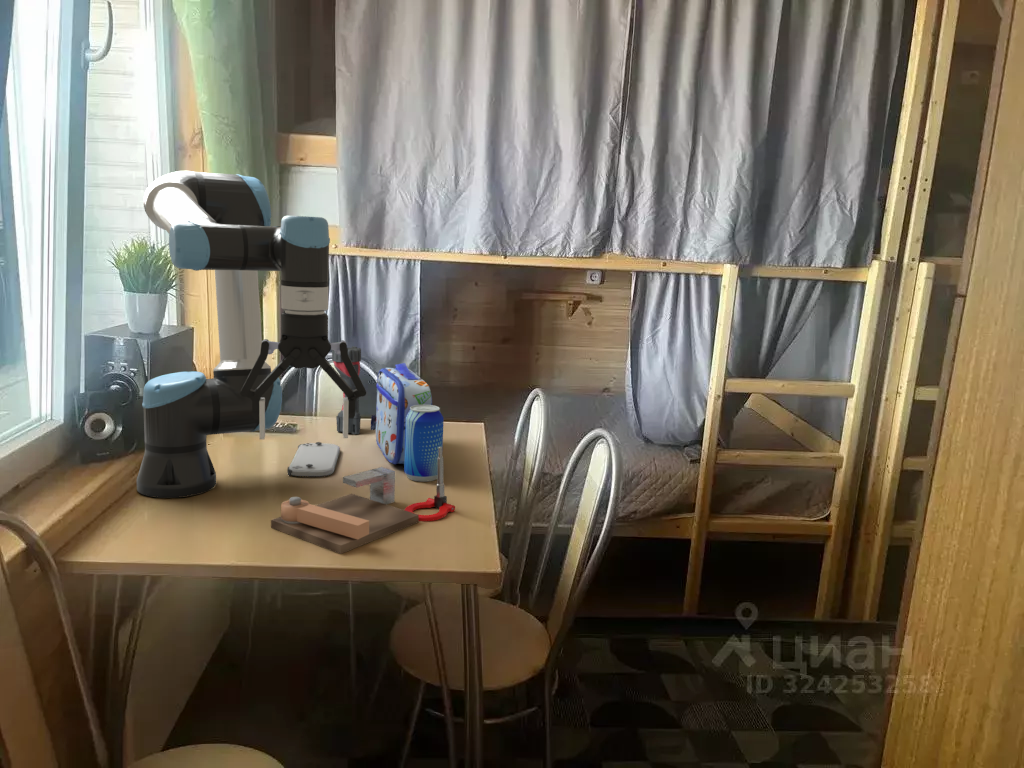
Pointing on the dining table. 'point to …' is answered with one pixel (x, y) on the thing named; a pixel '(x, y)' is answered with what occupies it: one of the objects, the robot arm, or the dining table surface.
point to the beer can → (423, 442)
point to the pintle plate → (377, 513)
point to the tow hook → (435, 497)
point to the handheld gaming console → (314, 460)
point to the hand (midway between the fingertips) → (304, 437)
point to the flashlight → (355, 358)
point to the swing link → (324, 518)
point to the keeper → (375, 483)
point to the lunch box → (396, 408)
